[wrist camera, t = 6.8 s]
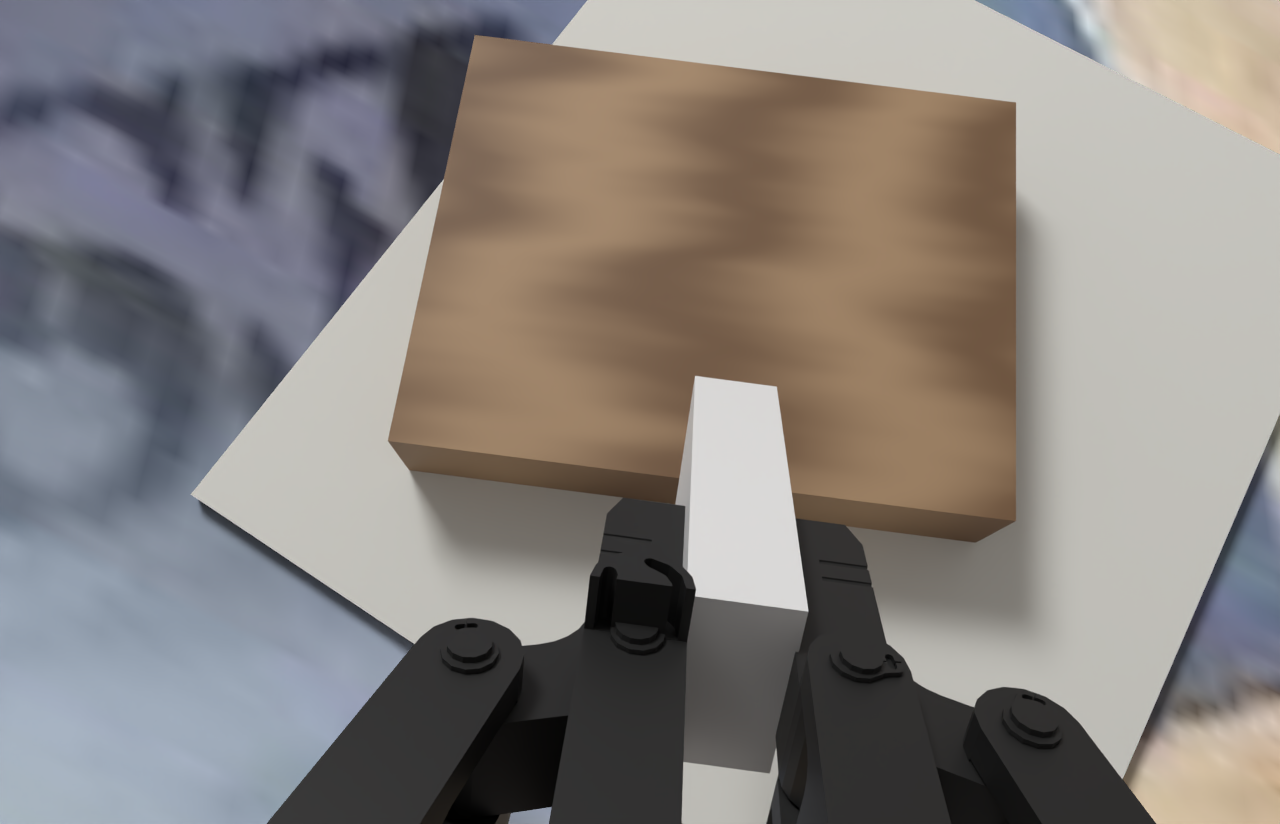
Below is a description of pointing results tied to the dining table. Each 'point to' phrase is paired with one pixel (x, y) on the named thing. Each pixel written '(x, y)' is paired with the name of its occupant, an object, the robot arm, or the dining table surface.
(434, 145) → the dining table surface
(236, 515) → the felt mat
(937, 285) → the walnut board
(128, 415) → the dining table surface
